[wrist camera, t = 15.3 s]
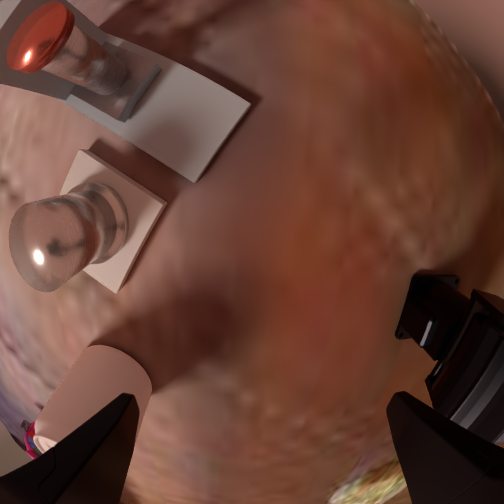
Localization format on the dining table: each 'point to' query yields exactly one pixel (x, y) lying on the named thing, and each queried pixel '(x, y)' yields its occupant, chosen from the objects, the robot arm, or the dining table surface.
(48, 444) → the beige cylinder
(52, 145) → the dining table surface
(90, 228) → the knob
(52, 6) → the ball-topped lever
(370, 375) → the dining table surface
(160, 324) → the dining table surface
